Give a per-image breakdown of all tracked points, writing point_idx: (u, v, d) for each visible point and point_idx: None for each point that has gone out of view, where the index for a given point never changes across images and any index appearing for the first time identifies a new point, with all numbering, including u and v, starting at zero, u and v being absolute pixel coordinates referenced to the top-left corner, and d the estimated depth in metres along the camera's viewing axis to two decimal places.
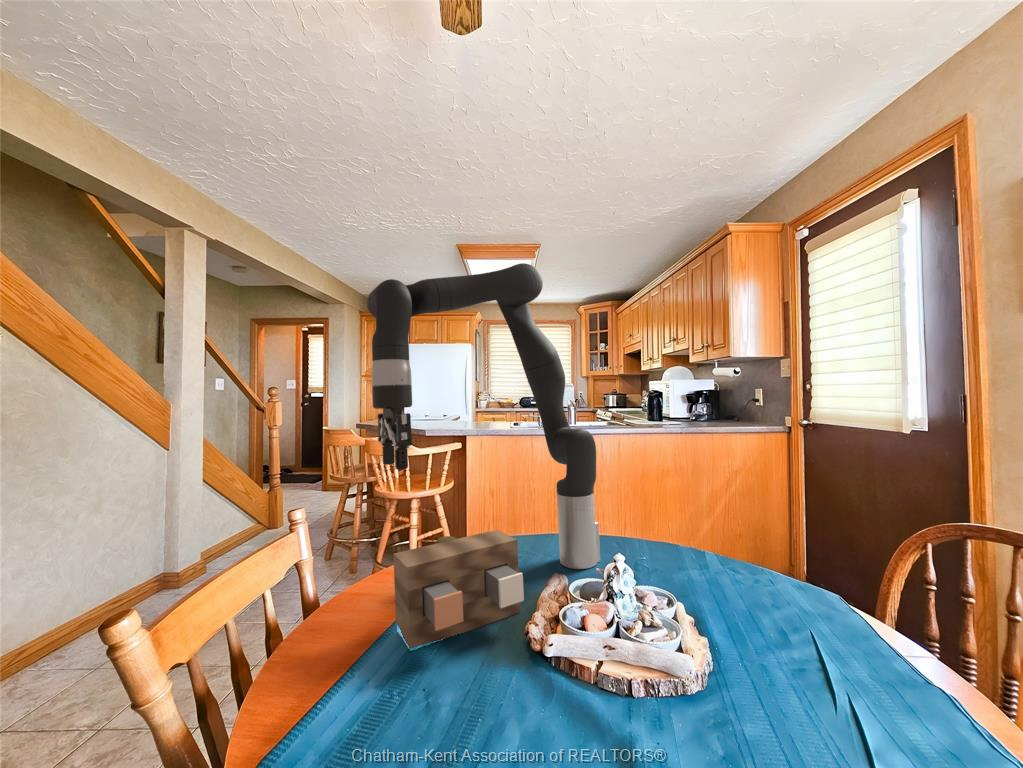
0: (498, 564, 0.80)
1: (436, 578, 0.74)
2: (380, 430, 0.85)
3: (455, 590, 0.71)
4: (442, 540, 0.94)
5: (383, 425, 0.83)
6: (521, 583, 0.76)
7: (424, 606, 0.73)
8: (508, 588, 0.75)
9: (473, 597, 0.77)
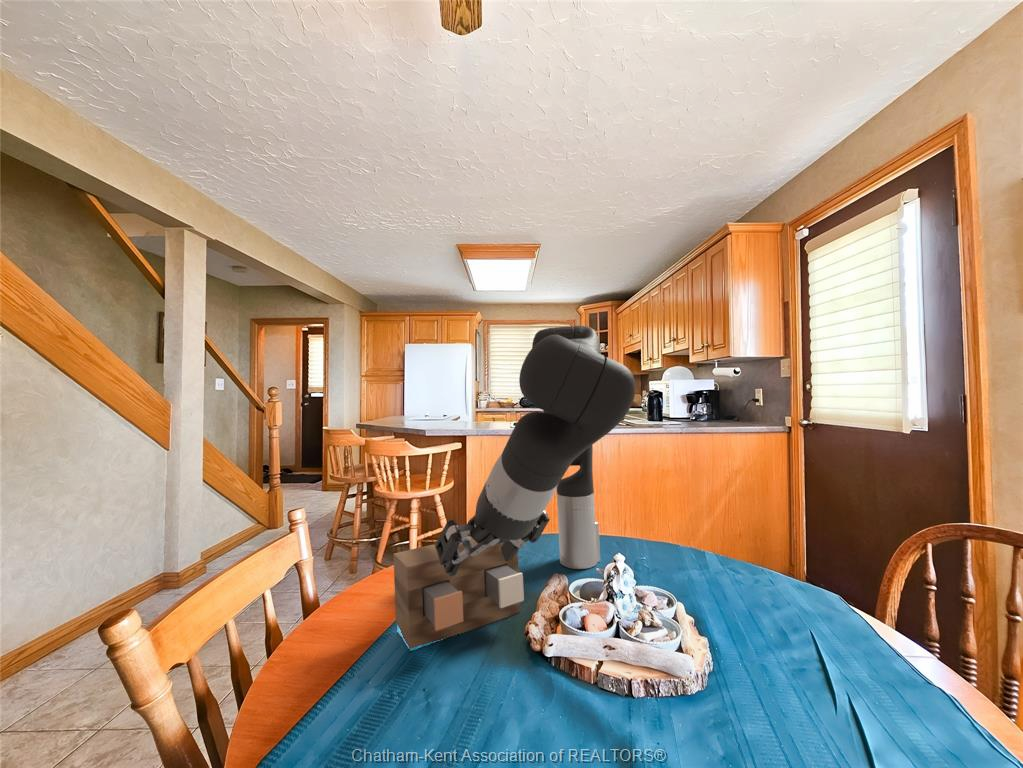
0: (498, 564, 0.80)
1: (436, 578, 0.74)
2: (474, 551, 0.52)
3: (455, 590, 0.71)
4: None
5: None
6: (521, 583, 0.76)
7: (424, 606, 0.73)
8: (508, 588, 0.75)
9: (473, 597, 0.77)
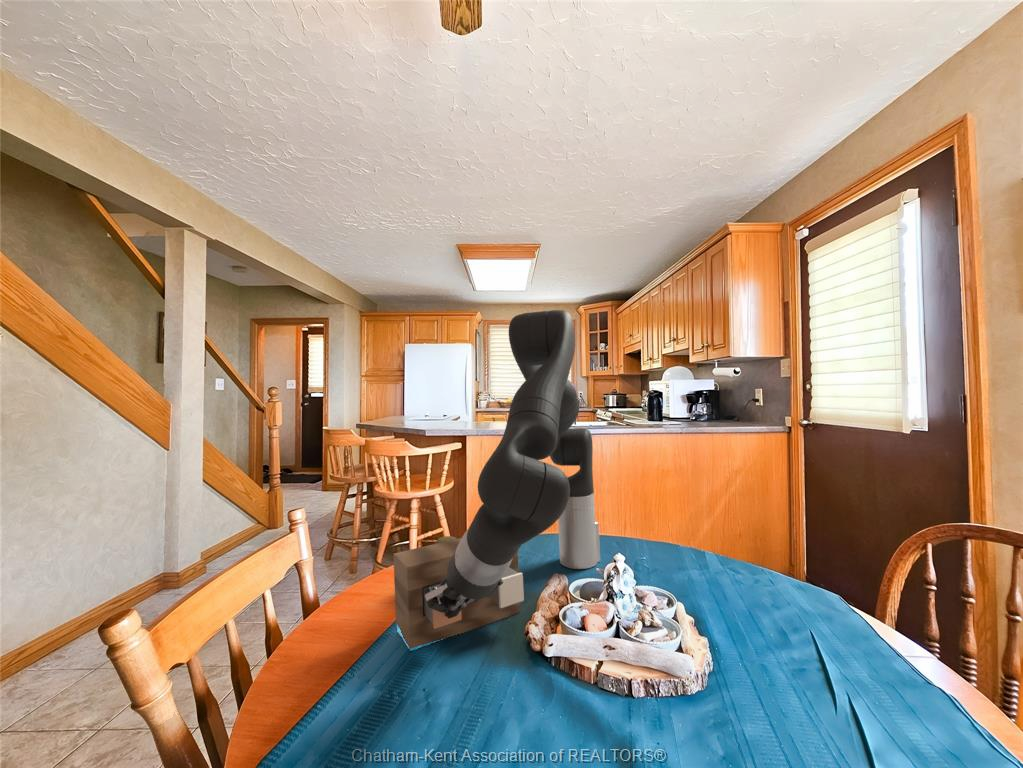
0: None
1: (436, 578, 0.74)
2: (456, 604, 0.63)
3: None
4: (442, 540, 0.94)
5: None
6: (521, 583, 0.76)
7: (423, 604, 0.73)
8: (508, 588, 0.75)
9: None
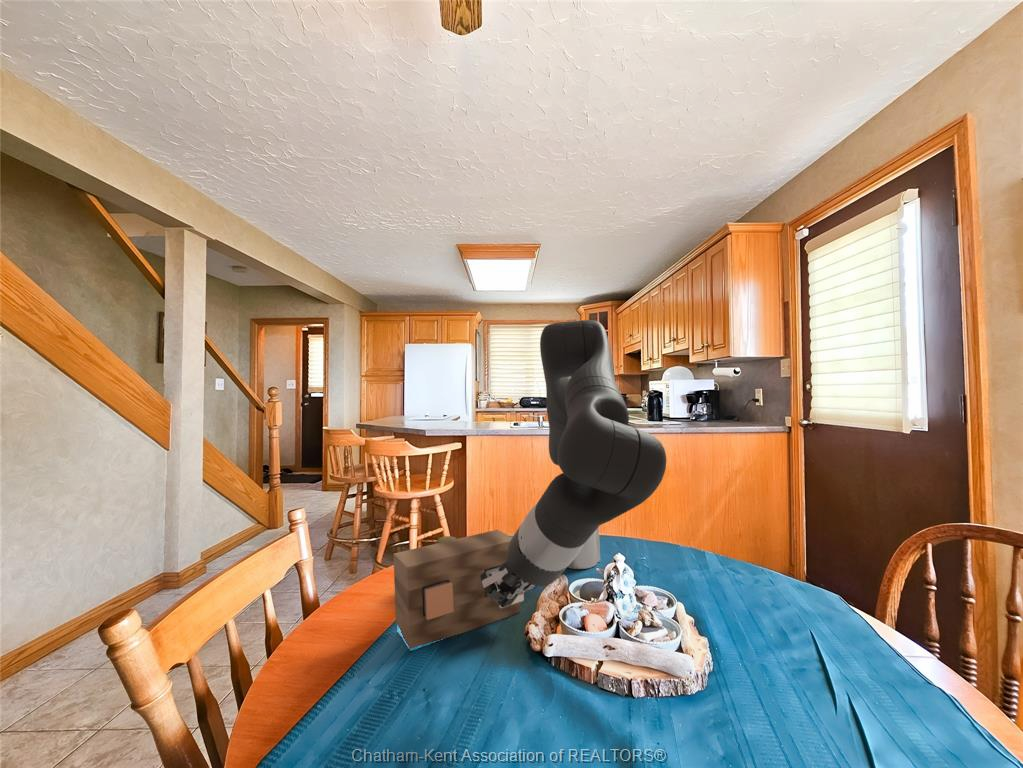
0: (498, 564, 0.80)
1: (436, 578, 0.74)
2: (515, 592, 0.57)
3: (446, 582, 0.75)
4: (442, 540, 0.94)
5: None
6: None
7: None
8: None
9: (473, 597, 0.77)
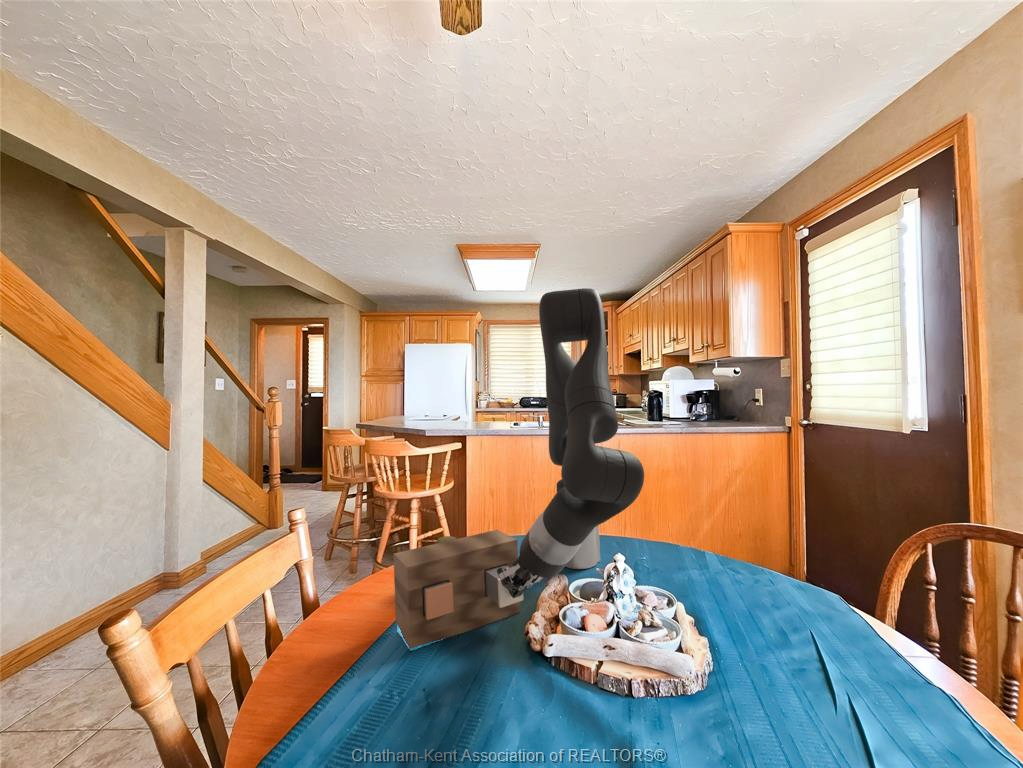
0: (498, 564, 0.80)
1: (436, 578, 0.74)
2: (525, 584, 0.69)
3: (446, 582, 0.75)
4: (442, 540, 0.94)
5: None
6: None
7: None
8: None
9: (473, 597, 0.77)
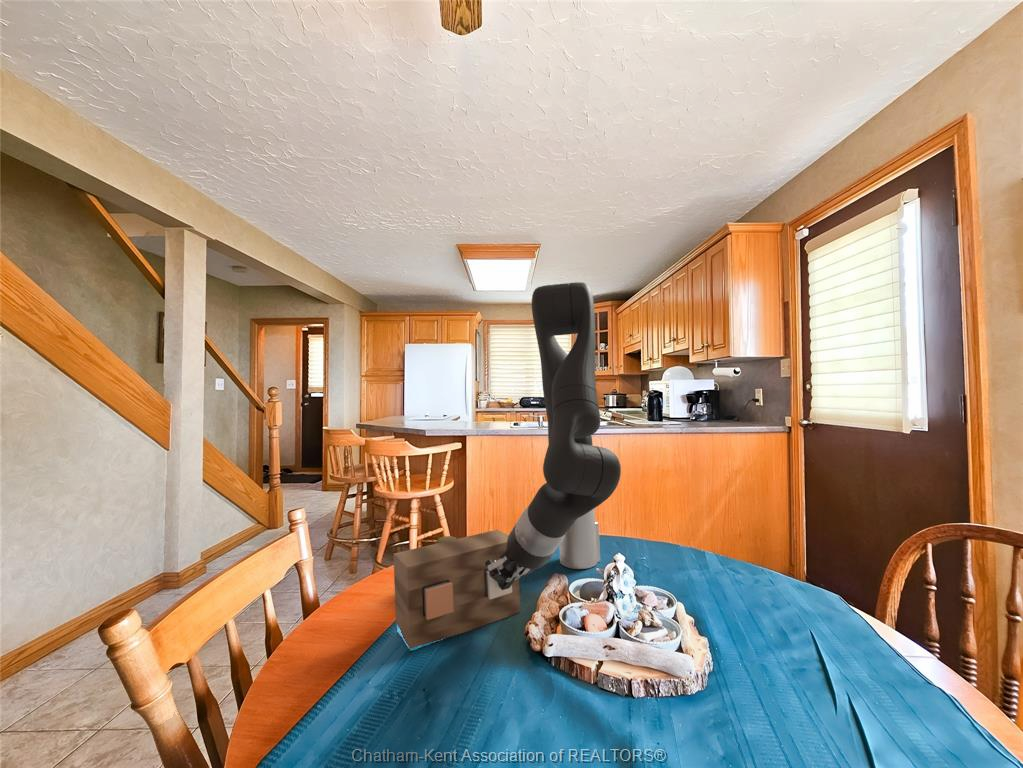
0: None
1: (436, 578, 0.74)
2: (512, 576, 0.72)
3: (446, 582, 0.75)
4: (442, 540, 0.94)
5: None
6: None
7: None
8: None
9: (473, 597, 0.77)
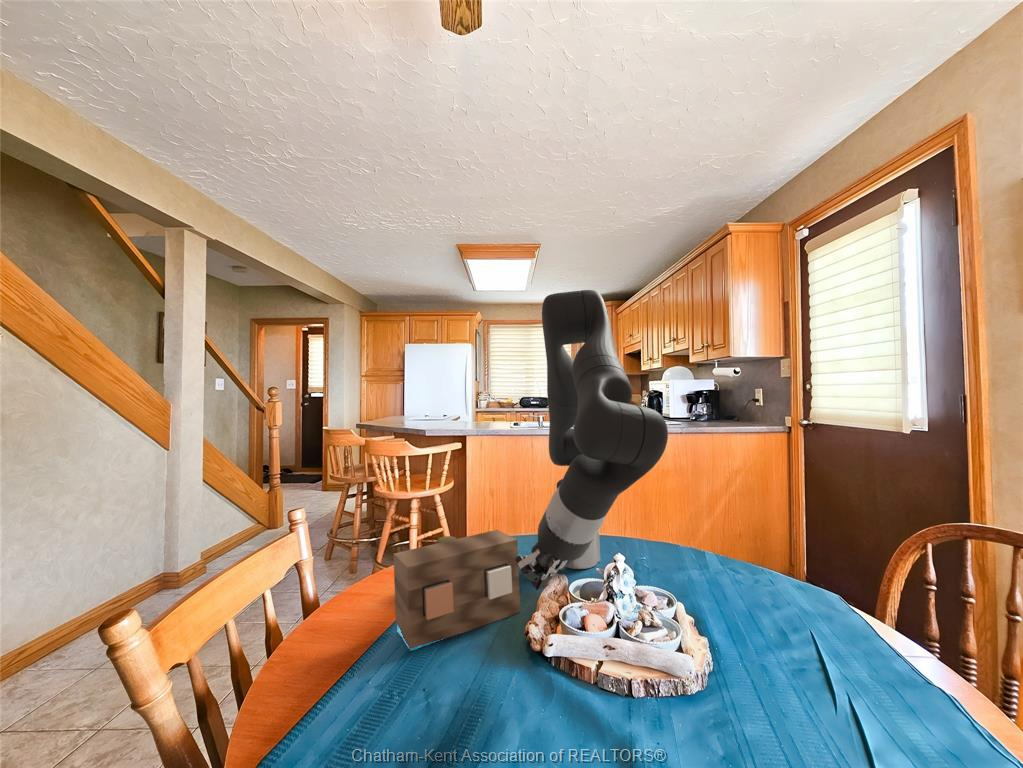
0: (498, 564, 0.80)
1: (436, 578, 0.74)
2: (548, 571, 0.62)
3: (446, 582, 0.75)
4: (442, 540, 0.94)
5: None
6: (509, 576, 0.80)
7: None
8: (497, 580, 0.78)
9: (473, 597, 0.77)
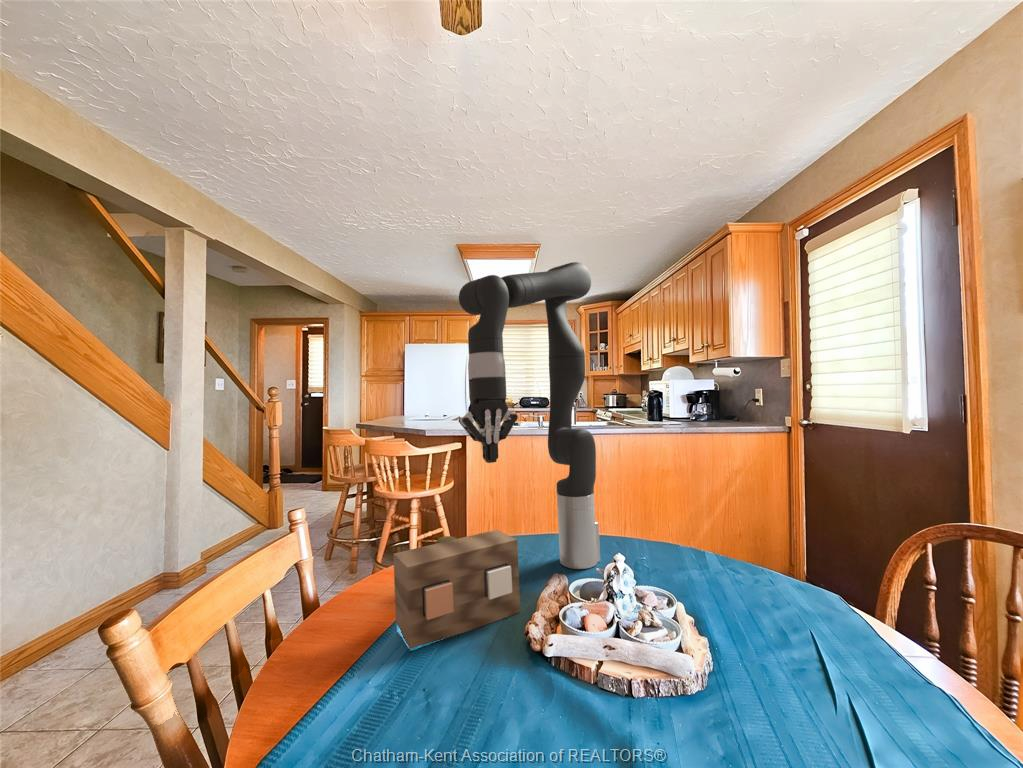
0: (498, 564, 0.80)
1: (436, 578, 0.74)
2: (486, 426, 0.83)
3: (446, 582, 0.75)
4: (442, 540, 0.94)
5: None
6: (509, 576, 0.80)
7: None
8: (497, 580, 0.78)
9: (473, 597, 0.77)
